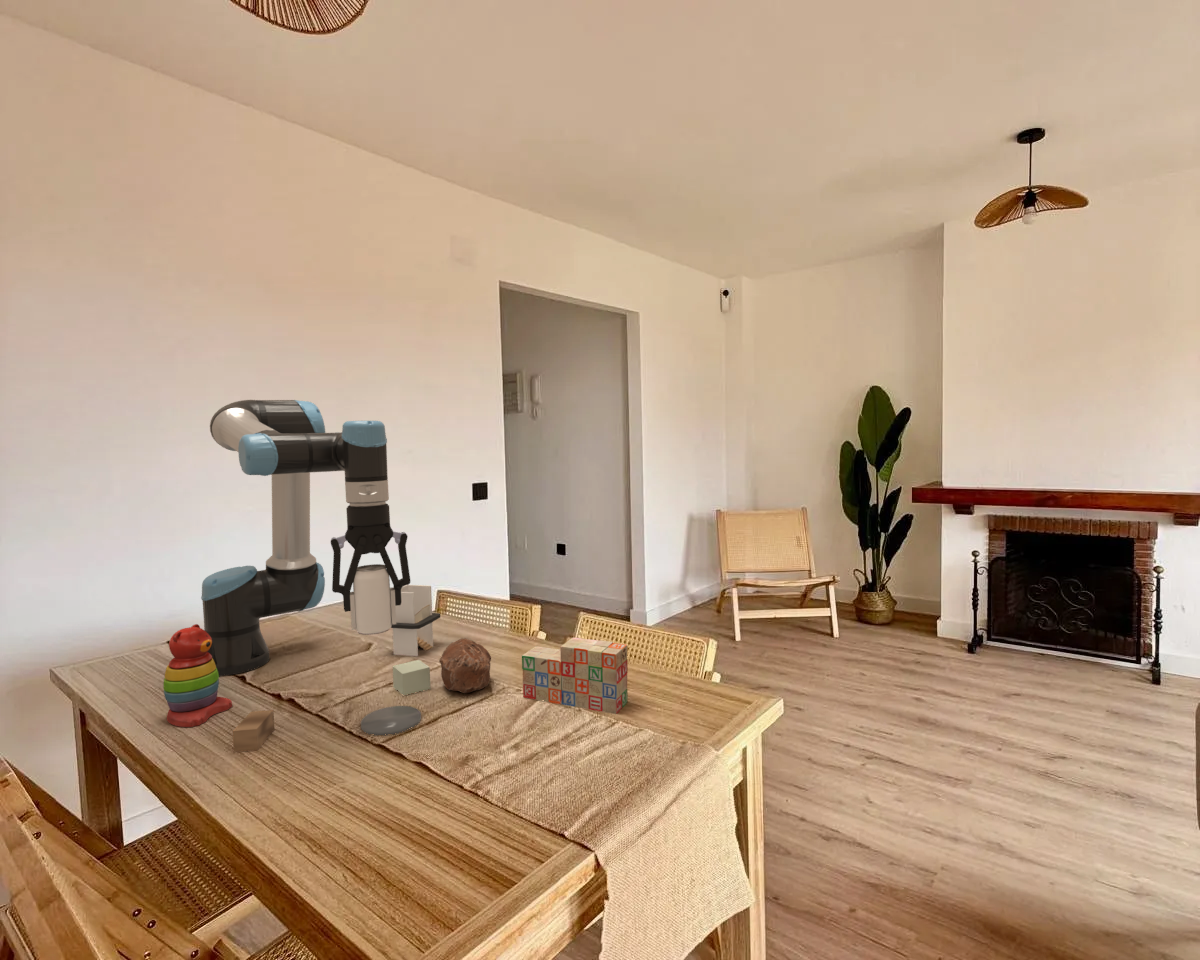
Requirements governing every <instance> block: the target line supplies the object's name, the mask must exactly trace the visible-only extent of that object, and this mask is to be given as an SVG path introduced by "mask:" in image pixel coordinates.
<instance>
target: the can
mask: <svg viewBox="0 0 1200 960" xmlns="http://www.w3.org/2000/svg"><path fill="white" fill-rule="evenodd" d="M390 583H391V578H390V576H389V574H388V571H387V569H386V567H385V564H380V563H379V564H378V563H377V564H373V563H372V564H365V565H360V566H359V565H358V567H357V571H356V574H355V577H354V581H353V584H352V587H353V588H352V589H353V590H352V592H354V599H355V618H356V629H355V631H356V632H357V633H358V634H359V635H365V636H366V635H367V636H368V635H369V636H371V635H379V634H382V633H386V632H388V631H389V630H390V629H392V628H391V626H392V620H391V598H390V588H391V584H390Z"/></svg>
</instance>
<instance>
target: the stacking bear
mask: <svg viewBox="0 0 1200 960" xmlns="http://www.w3.org/2000/svg"><path fill="white" fill-rule="evenodd" d="M211 644H212V638H211V637H210V635H209V634H208V633H207V632H206V631H205V630H204V628H201V627H200V625H199V624H197V623H196V624H193V625H192V626H191V627H183V628H181V629H179V630H177V631H176V632H175V633H173V635H172V636H171V637H170V640H169V643H168V648H169V651H170V653H171V656H173V658H172V659H171V660H170V661H169V663H168V664H167V666H166V668H165V672H164V679H163V686H162V687H163V694H164V695H163V696H164V698H165V700H166V702H167V706H168V708H169V710H167V711H168V712H167V713H166V720H167V722H168V723H169V724H170V725H173V726H176V727H179V728H180V727H181V728H193V727H198V726H200V725H202V724H204V723H206V722H207V721H208V719H209V718H210V717H212V716H214V715H216V714H219V713H222V712H226V711H228V710H229V709H231V708H232V707H233V702H232V700H231V698H227V697H223V696H218V691H219V686H220V685H219V684H220V680H219V679H220V676H219V674H218V670H217V668H216V665H215V662H214V660H213V658H212V655H211V654H210V653H208V650H209V649H210V647H211Z"/></svg>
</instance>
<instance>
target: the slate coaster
mask: <svg viewBox="0 0 1200 960" xmlns="http://www.w3.org/2000/svg"><path fill="white" fill-rule="evenodd" d="M421 720H422V713H421V710H419V709H418V708H416V707H414V706H409V705H393V706H387V707H382V708H378V709H376V710H373V711H371V712H370V713H367V714H366V715H365V716H364V717H363V718H362V719H361V721H360V728H361V731H362V730H363V731H364V732H363V731H362V732H363V733H365V732H366V733H365V734H367V733H368V734H367V735H370V734H374V735H373V736H378V735H383V736H389V735H388V734H392V735H396V734H395V733H397V734H400V733H399V732H401V733H403V732H402V731H404V732H406V731H405V730H407V729H409V728H411V727H413V728H415V727H416V726H417V725H418V724H419V723H420V722H421ZM415 725H416V726H415ZM414 726H415V727H414ZM411 729H412V728H411ZM409 730H410V729H409ZM407 731H408V730H407ZM385 734H386V735H385Z"/></svg>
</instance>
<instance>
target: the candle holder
mask: <svg viewBox="0 0 1200 960" xmlns="http://www.w3.org/2000/svg"><path fill="white" fill-rule="evenodd" d="M440 618H441V613H440V612H433V597H432V585H426V584H425V585H424V584H422V585H419V584H409V585H405V586H403V587H402V588H401V605H397V606H396V624H393V625H392V626H391V628H390V629H392V644H393V645H392V648H393V649H392V650H393V655H395V656H407V657H419V649H418V648H419V647H420V649H423V651H429V650H431V649H433V648H434V631H433V629H434V628H433V622H435V621H437V620H438V619H440Z"/></svg>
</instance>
